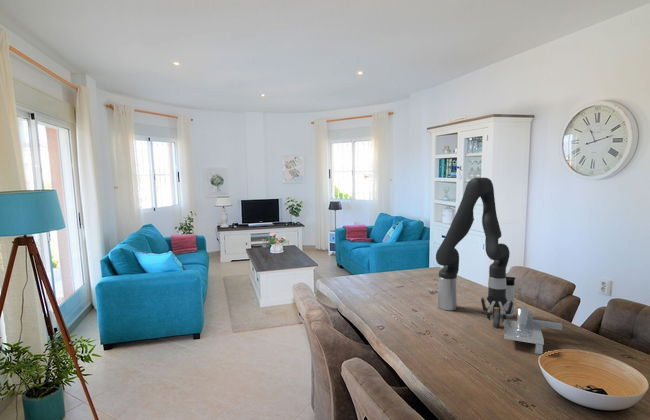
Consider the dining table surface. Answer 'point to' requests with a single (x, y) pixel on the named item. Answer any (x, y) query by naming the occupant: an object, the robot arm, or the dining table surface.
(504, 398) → the dining table surface
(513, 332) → the grey metal bracket
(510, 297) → the travel mug
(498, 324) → the pin
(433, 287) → the dining table surface
